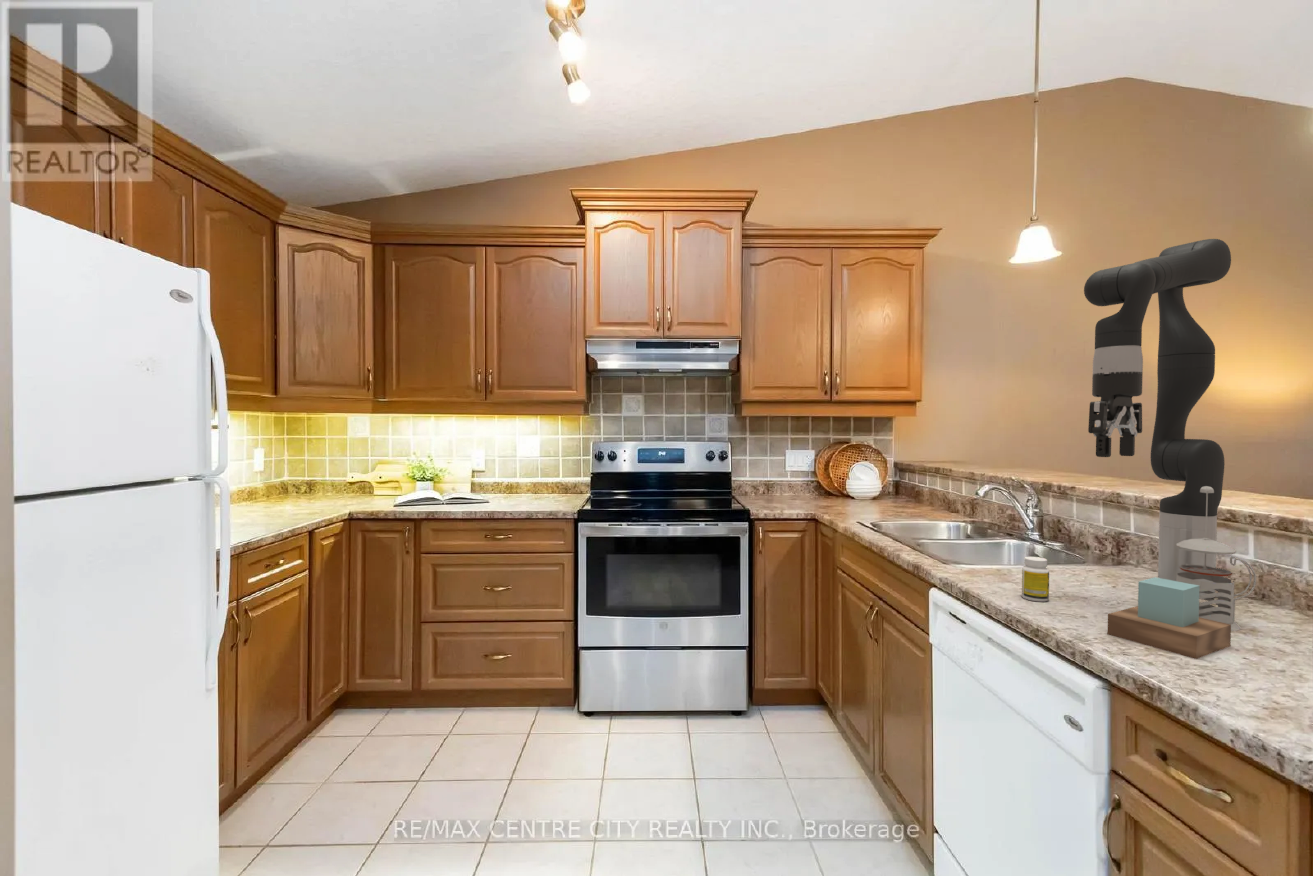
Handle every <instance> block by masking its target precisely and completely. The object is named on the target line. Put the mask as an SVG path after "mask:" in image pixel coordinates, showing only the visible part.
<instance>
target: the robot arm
mask: <svg viewBox="0 0 1313 876" xmlns="http://www.w3.org/2000/svg"><path fill="white" fill-rule="evenodd" d="M1230 249H1231V248H1230V247H1229V246H1228V244H1227V243H1226V242H1225V241H1224V240H1222V239H1218V238H1207V239H1201V240H1197V241H1193V242H1186V243H1183V244H1178V245H1174V246H1171V247H1167V248H1165V249H1163V250H1162V251H1160V254H1159V255H1158V256H1155V257H1151V258H1145V259H1142V260H1139V261H1136V262H1134V263H1129V264H1123V265H1120V266H1119V265H1118V266H1114V267H1109V268H1104V269H1100V270H1097V271H1095V272H1093V273H1092V274H1091V275H1090V276H1089V277H1088V278H1087V280H1086V281H1085V283H1084V286H1083V293H1084V296H1085V299H1086V300H1087V301H1088V302H1089V303H1090V304H1092V305H1093V306H1097V307H1109V306H1115V305H1121V304H1122V306H1121V307H1120V309H1119V310H1118V312H1116V313H1114V314H1112V315H1110V316H1107V317H1106V316H1105V317H1103V318H1101V319H1099V320H1098V321H1097V322H1096V324H1095V328H1094V354H1093V358H1092V359H1093V360H1092V383H1091V384H1092V385H1091V386H1092V387H1091V395H1092V396H1093V397H1095V398H1100V400H1097V401H1096V400H1095V401H1090V402H1089V409H1088V410H1089V413H1088V429H1087V431H1088V433H1089V434H1093V437H1095V438H1096V439H1095V456H1096V457H1098V458H1110V457H1112V456H1111V455H1112V437H1111V436H1112V434H1113V431H1114V429H1117V431H1118V433H1119V436H1120V437H1119V450H1118V451H1119V455H1120V456H1121V457H1134V456H1135V452H1136V451H1135V449H1136V448H1135V447H1136V445H1135V444H1136V443H1135V441H1136V437H1137V436H1138V434H1142V432H1143V403H1142V402H1133V398H1134V397H1140V396H1142V395H1143V373H1144V372H1143V368H1144V358H1143V357H1144V356H1143V350H1142V340H1143V339H1142V338H1143V333H1142V331H1143V323H1144V319H1145V315H1146V313H1147V310H1148V306H1149V304H1150V301H1151V299H1152V297H1153V296H1152V295H1154V294H1157V300H1158V315H1159V317H1158V318H1159V320H1158V321H1159V326H1158V327H1159V329H1158V332H1159V333H1158V348H1157V349H1158V350H1157V367H1156V368H1157V371H1156V373H1157V377H1156V378H1157V393H1156V394H1157V395H1156V410H1155V411H1156V412H1155V421H1154V426H1153V434H1152V441H1151V447H1150V466H1151V469H1152V472H1153V474H1155V476H1156V477H1157V478H1159V479H1161V480H1166V481H1176V482H1185V484H1184V488H1183V490H1182V491H1181V492H1179V493H1178V494H1175V495H1171V496H1165V497H1163V498H1161V499H1160V501H1159V513H1158V515H1159V518H1158V520H1159V521H1158V525H1159V526H1158V529H1159V530H1158V562H1157V565H1158V566H1157V567H1158V568H1157V578H1162V579H1167V580H1172V581H1176V579H1177V573H1180V572H1186V571H1184V570H1181V569H1180V567H1179V566H1180V565H1187V564H1189V565H1190V564H1191V565H1192V564H1193V565H1200V566H1201V565H1202V566H1205V553H1199V552H1192V551H1187V550H1183V549H1180V548H1178V547H1177V545H1176V544H1177V543H1179V542H1182V541H1184V540H1189V539H1202V538H1205V529H1206V493H1202V492H1200V489H1201V488H1202V487H1204V486H1208V487H1212V488H1213V490H1214V493H1208V506H1207V538H1208V539H1210V540H1214V541H1217V539H1218V538H1217V535H1218V531H1217V529H1218V509H1219V506H1220V503H1221V500H1222V496H1223V485H1224V475H1225V455H1224V451H1223V449H1222V446H1220V444H1219V443H1218V442H1216V441H1214V440H1212V439H1211V440H1210V439H1200V438H1199V439H1198V438H1185V437H1186V436H1185V435H1186V434H1185V433H1186V426H1187V421H1188V418H1189V416H1190V414H1191V411H1192V410H1193V408H1194V407H1195V405H1197V403H1198V402H1199V401H1200V400H1201V398H1202V397H1203V395H1204V394H1205V393H1206V391H1207V390H1208V389H1209V387H1210V385H1211V384H1212V382H1213V380H1214V378H1215V372H1216V370H1215V367H1216V346H1215V343H1214V341H1213V340H1212V338H1211V336H1209V335H1208V333H1207V332H1206V331H1205V330H1204V329H1203V328H1202V326H1201V325H1200V324H1199V323H1198V322H1197V321H1196V320H1195V319H1194V317H1192V315H1191V313H1190V312H1189V310H1188V308H1187V306H1186V302H1185V299H1184V288H1189V287H1195V286H1203V285H1208V284H1211V283H1215V282H1218V281H1220V280H1222V279H1223V278H1224V277H1226V275H1228V272H1229V271H1230V268H1231V265H1232V254H1231V251H1230ZM1206 566H1207V567H1208V566H1209V567H1212V568H1213V567H1214V568H1215V567H1216V568H1217V554H1207V553H1206ZM1194 580H1198V581H1204V582H1212V581H1209V580H1206V579H1194ZM1212 583H1214V582H1212ZM1208 591H1211V592H1214V593H1216V590H1214V589H1213V590H1208ZM1201 595H1206V593H1199V596H1201ZM1210 598H1212V599H1214V597H1210Z"/></svg>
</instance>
